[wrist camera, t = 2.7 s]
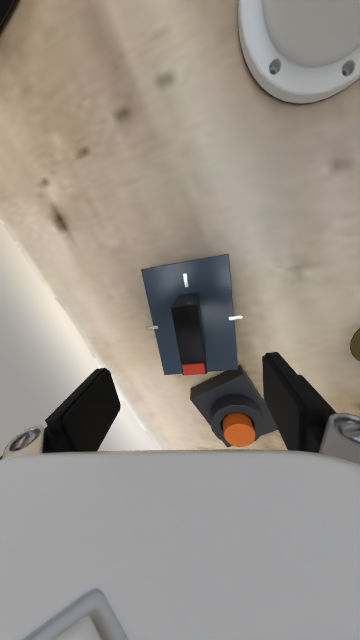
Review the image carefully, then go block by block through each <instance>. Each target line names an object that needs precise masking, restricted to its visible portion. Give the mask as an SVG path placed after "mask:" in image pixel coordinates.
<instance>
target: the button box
mask: <svg viewBox="0 0 360 640" xmlns="http://www.w3.org/2000/svg"><path fill="white" fill-rule="evenodd" d="M190 400H191V401H192V402H193V404H194V405H195V406H196V407H197V409H198V410H199V411H200V413H201V414H202V415H203V416H204V418H205V419H206V420H207V422H208V423H209V424H210V426H211V429H212V431H213V432H214V433H215V435H216V436H217V437H218V438H219V439H220V440H222V441H223V442H224V444H225V445H226V446H227V447H230V446H233V445H231V444H229V443H228V442H227V441H226V439H225V437H224V431H223V419H224V418H225V417H226V416H227V415H229V414H231V413H243V414H245V415H247V416H248V417H249V418H250V419H251V422H252V425H253V428H254V431H255V439H254V441H256V440H257V439H258V438H259V437H260V436H261V435H264V434H267V433H270V432H273V431H275V430H278V428H277V426H276V424H275V422H274V419H273V417H272V415H271V413H270V411H269V409H268V407H267V405H266V403H265V402H264V400H263V399H262V397H261V396H260V394H259V393H258V391H257V390H256V388H255V387H254V385H253V384H252V382H251V380H250V379H249V377H248V376H247V374H246V373H245V371H244V370H243V368H242V367H241V365H239V366H238V369H237V370H228V371H226V372H224V373H222V374H220V375H218V376H216V377H214V378H212V379H210V380H208V381H206V382H204V383H202V384H200V385H197V386H195V387H193V388H191V396H190Z"/></svg>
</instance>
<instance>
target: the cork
mask: <svg viewBox="0 0 360 640" xmlns="http://www.w3.org/2000/svg"><path fill="white" fill-rule="evenodd" d="M350 349H351V352H352V355H353V356H354V357H355V358H356V359H357V360H359V361H360V329H359V330H358V331H357V332H356V333H355V334H354V336H353V339H352V341H351V347H350Z"/></svg>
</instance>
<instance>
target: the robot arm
mask: <svg viewBox="0 0 360 640" xmlns="http://www.w3.org/2000/svg"><path fill="white" fill-rule="evenodd" d="M238 26H239V36H240V43H241V47H242V51H243V54H244V58H245V61H246V63H247V65H248V67H249V69H250V72H251V74H252V75H253V77H254V78H255V79H256V81H257V82H258V83H259V85H260V86H261V87H262V88H263V89H265V90H266V91H267V92H268V93H269V94H271V95H272V96H274V97H276V98H278V99H281V100H283V101H286V102H292V103H298V104H300V103H311V102H316V101H319V100H322V99H326V98H329V97H331V96H333V95H335V94H337V93H338V92H340V91H342V90H344V89H346V88H347V87H348V86H350V85H351V84H352V83H354V82H355V81H356V80H358V79H359V78H360V0H239V5H238ZM262 362H263V387H264V399H265V402H266V405H267V407H268V409H269V411H270V413H271V415H272V417H273V419H274V422H275V424H276V426H277V428H278V430H279V432H280V434H281V436H282V438H283V441H284V443H285V445H286V447H287V449H288V450H149V451H148V450H147V451H99V452H98V451H97V450H98V449H99V446H100V445H101V443H102V441H103V440H104V438H105V436H106V434H107V432H108V430H109V429H110V427H111V425H112V423H113V421H114V420H115V418H116V416H117V414H118V412H119V410H120V402H119V398H118V395H117V392H116V389H115V386H114V383H113V380H112V377H111V373H110V371H109V370H107V369H106V368H101V369H96V370H95V371H94V372H93V373H92V374H91V375H90V376H89V377H88V378H87V379H86V380H85V381H84V382H83V383H82V384H81V385H80V386H79V387H78V388H77V389H76V390H75V391H74V392H73V393H72V394H71V395H70V396H69V397H68V398H67V399H66V400H65V401H64V402H63V403H62V404H61V405H60V406H59V407H58V408H57V409H56V410H55V411H54V412H53V413H52V414H51V415H50V416H49V417H48V418H47V419H46V420H45V421H46V423H47V425H48V426H47V427H46V428H45V429H44V427H43V426H34V427H31V428H29V429H27V430H25V431H23V432H21V433H20V434H19V435H17V436H16V437H15V438H13V439H12V440H11V441H10V442H9V444H8V445H7V446H6V448H5V450H4V453H3V455H2V456H1V457H0V640H360V417H359V416H356V415H352V414H348V413H336V412H335V411H334V410H333V409H332V407H331V406H330V405H329V404H328V403H327V402H326V401H325V400H324V399H323V398H322V397H321V395H320V394H319V393H318V392H317V391H316V390H315V389H314V388H313V387H312V386H311V385H310V384H309V382H308V381H307V380H306V379H305V378H304V377H303V376H302V375H297V374H296V372H295V371H294V370H293V369H292V368H291V367H290V366H289V364H288V363H287V362H286V361H285V360H284V359H283V358H282V357H281V355H280V354H279V353H278V352H272V353H266V355H265V356H263V357H262Z"/></svg>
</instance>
